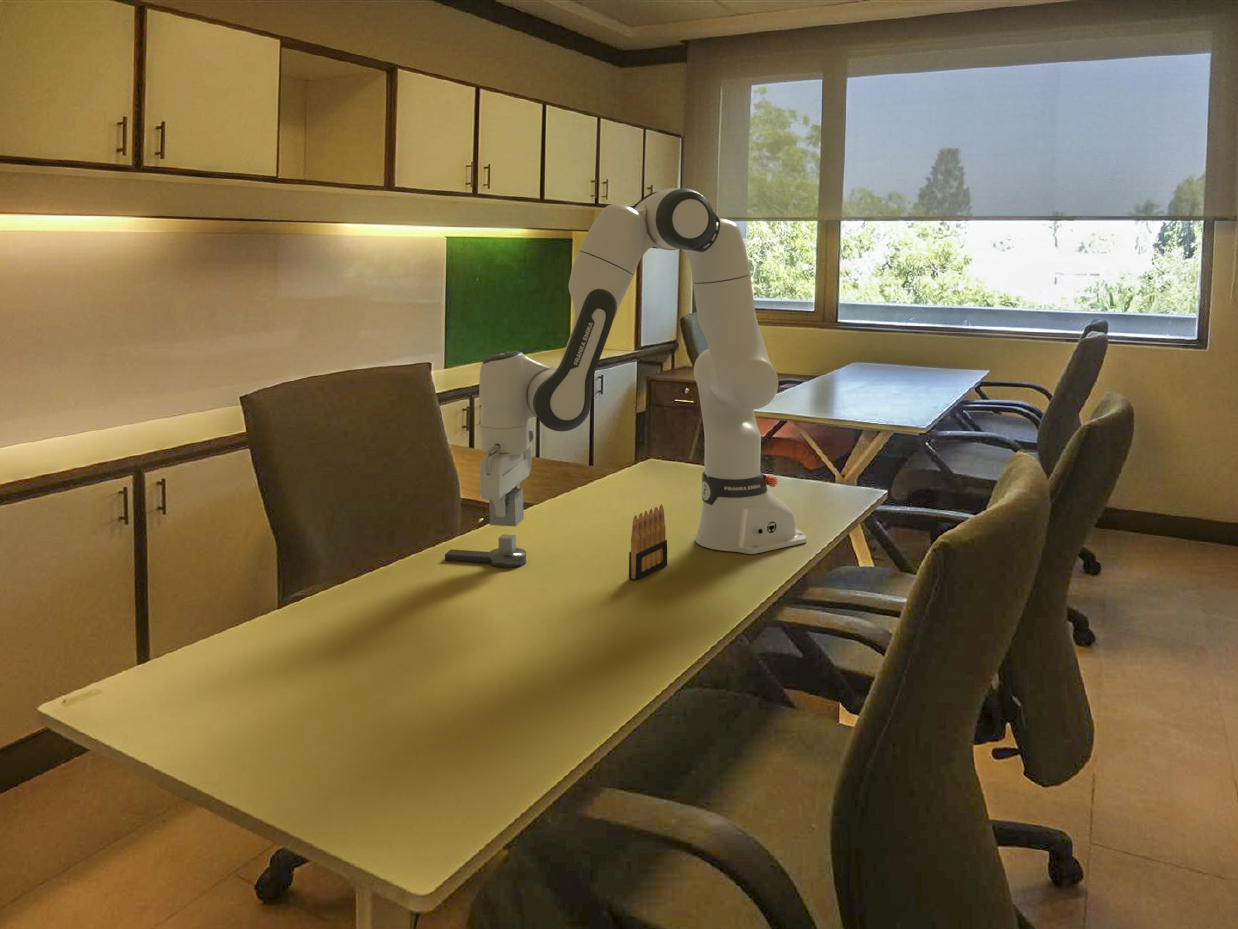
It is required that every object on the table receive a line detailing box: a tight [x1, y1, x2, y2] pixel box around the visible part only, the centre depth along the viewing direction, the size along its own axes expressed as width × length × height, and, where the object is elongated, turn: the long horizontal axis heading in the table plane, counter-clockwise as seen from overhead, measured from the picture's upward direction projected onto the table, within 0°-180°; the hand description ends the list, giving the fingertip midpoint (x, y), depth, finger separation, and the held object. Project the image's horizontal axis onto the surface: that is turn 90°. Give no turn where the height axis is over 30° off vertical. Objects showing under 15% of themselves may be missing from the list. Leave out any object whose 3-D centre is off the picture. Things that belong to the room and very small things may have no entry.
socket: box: [488, 488, 525, 527], centre depth 201 cm, size 5×5×6 cm
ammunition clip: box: [628, 504, 668, 582], centre depth 197 cm, size 11×2×12 cm, turn 146°
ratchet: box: [444, 534, 527, 570], centre depth 204 cm, size 16×7×5 cm, turn 78°
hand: (506, 511), depth 202 cm, fingers closed on socket, 5 cm apart
